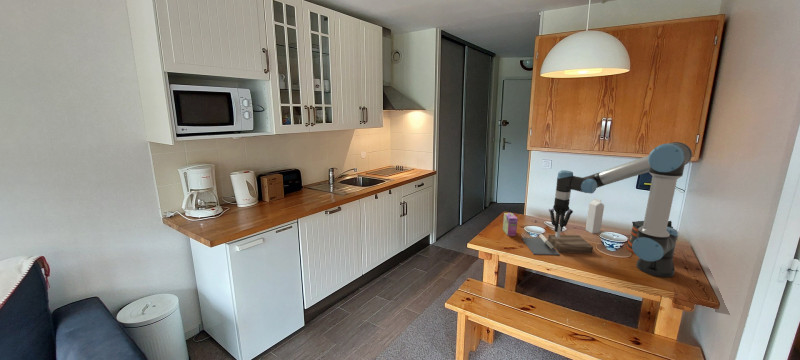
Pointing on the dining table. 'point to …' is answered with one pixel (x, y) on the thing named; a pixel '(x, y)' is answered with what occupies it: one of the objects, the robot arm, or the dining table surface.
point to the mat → (539, 247)
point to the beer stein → (635, 231)
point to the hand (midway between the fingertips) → (557, 236)
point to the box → (510, 224)
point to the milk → (594, 216)
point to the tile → (546, 241)
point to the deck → (570, 244)
